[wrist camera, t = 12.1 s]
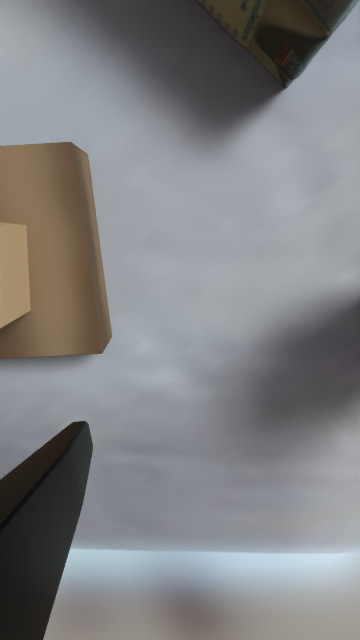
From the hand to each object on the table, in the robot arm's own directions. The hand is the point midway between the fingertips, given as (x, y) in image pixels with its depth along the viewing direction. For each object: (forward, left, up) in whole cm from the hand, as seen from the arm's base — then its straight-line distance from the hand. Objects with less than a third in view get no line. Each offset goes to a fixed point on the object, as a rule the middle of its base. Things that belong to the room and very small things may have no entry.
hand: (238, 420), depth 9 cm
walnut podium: (+13, -4, -13) cm, 19 cm away
